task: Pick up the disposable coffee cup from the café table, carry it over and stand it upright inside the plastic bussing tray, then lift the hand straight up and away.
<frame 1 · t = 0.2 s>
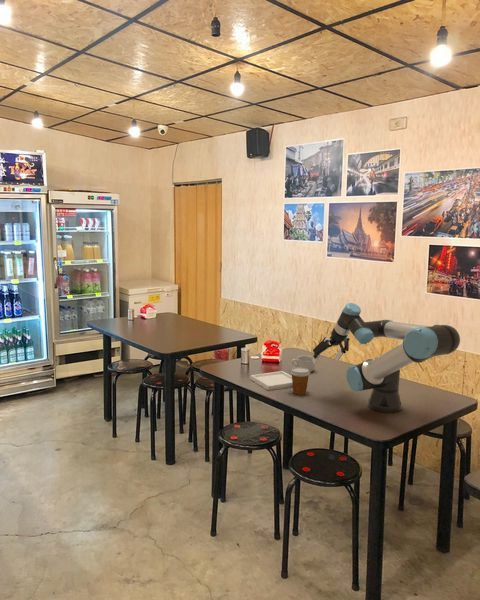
hand: (325, 360, 255), 16 cm above the table, tool tilted 35°, fingers open, 13 cm apart
disposable coffee cup: (299, 393, 256), on the table
teacup: (302, 371, 293), on the table
bussing tray: (275, 382, 272), on the table
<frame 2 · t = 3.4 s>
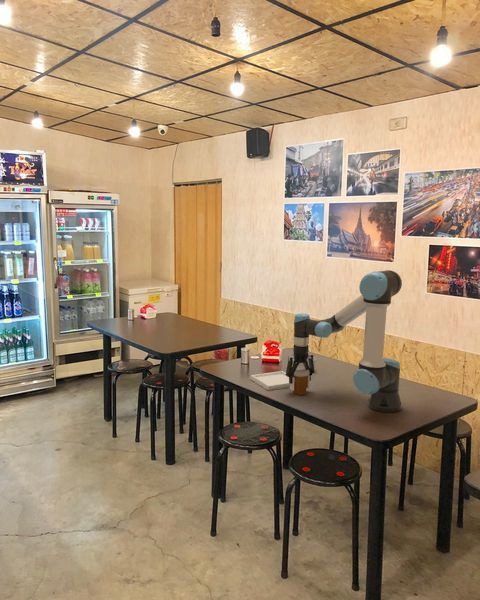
hand: (299, 388, 256), 2 cm above the table, tool pointing down, fingers closed on disposable coffee cup, 8 cm apart
disposable coffee cup: (299, 393, 256), on the table, touching gripper
everything else where it was.
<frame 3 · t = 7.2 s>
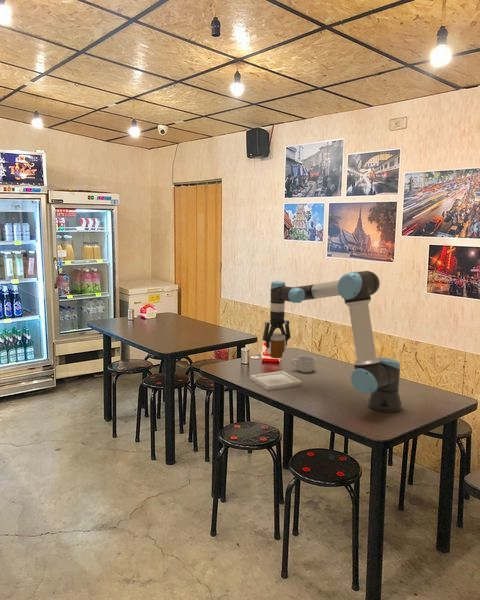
hand: (276, 352, 269), 17 cm above the table, tool pointing down, fingers closed on disposable coffee cup, 8 cm apart
disposable coffee cup: (276, 357, 269), point 14 cm above the table, touching gripper
everything else where it was.
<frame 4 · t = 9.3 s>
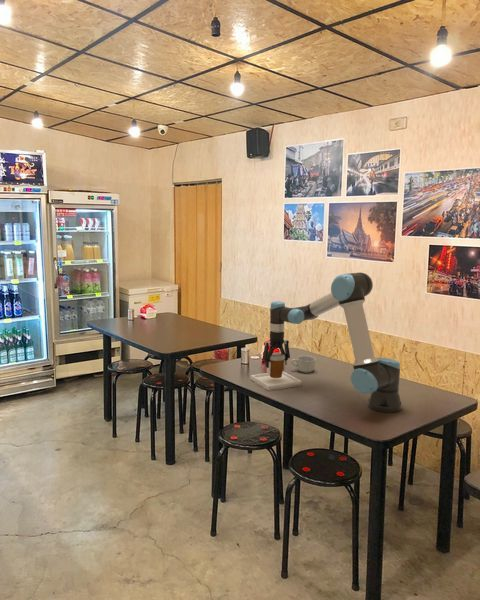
hand: (275, 372, 271), 6 cm above the table, tool pointing down, fingers closed on disposable coffee cup, 8 cm apart
disposable coffee cup: (275, 376, 271), point 3 cm above the table, touching gripper
everything else where it was.
when the fingers open (4 cm above the table, at t = 11.2 s): disposable coffee cup moves 3 cm, resting on bussing tray.
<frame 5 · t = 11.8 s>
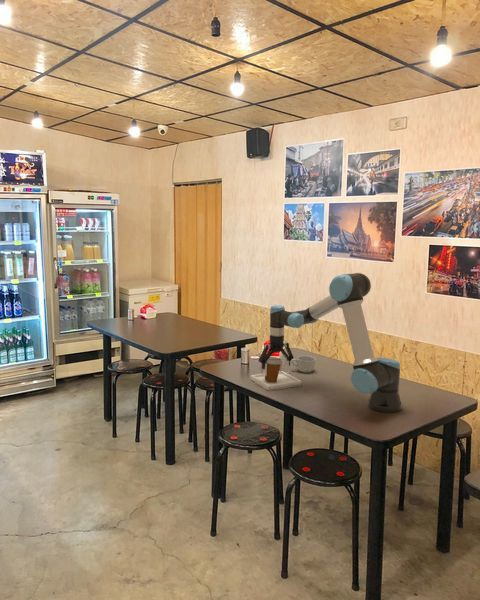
hand: (275, 373, 271), 5 cm above the table, tool pointing down, fingers open, 13 cm apart
disposable coffee cup: (270, 381, 270), point 1 cm above the table, touching bussing tray, gripper
everything else where it was.
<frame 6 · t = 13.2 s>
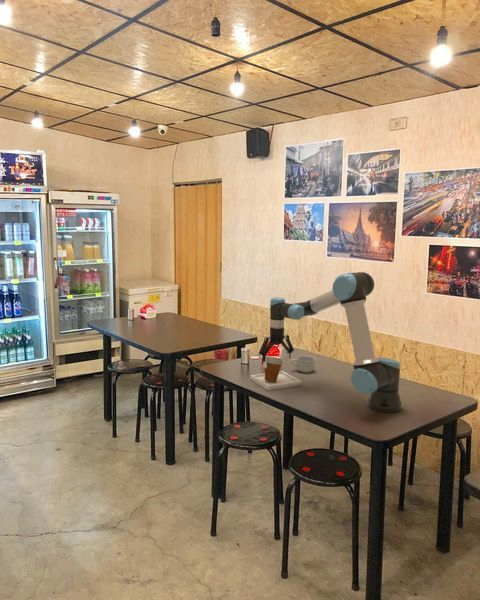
hand: (276, 366, 270), 9 cm above the table, tool pointing down, fingers open, 13 cm apart
disposable coffee cup: (270, 380, 270), point 2 cm above the table, touching bussing tray
everything else where it was.
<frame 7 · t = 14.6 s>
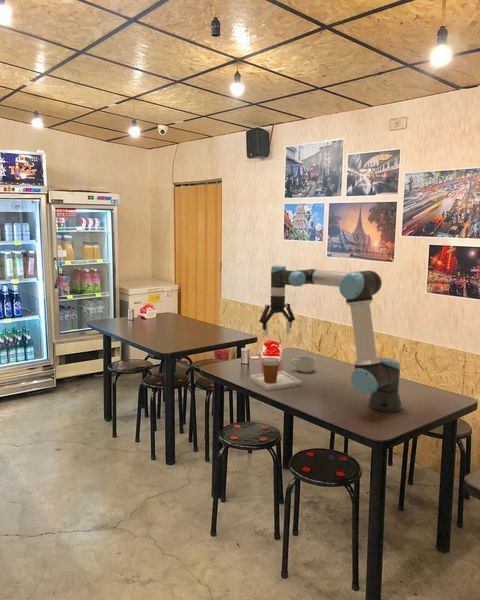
hand: (277, 334, 267), 26 cm above the table, tool pointing down, fingers open, 13 cm apart
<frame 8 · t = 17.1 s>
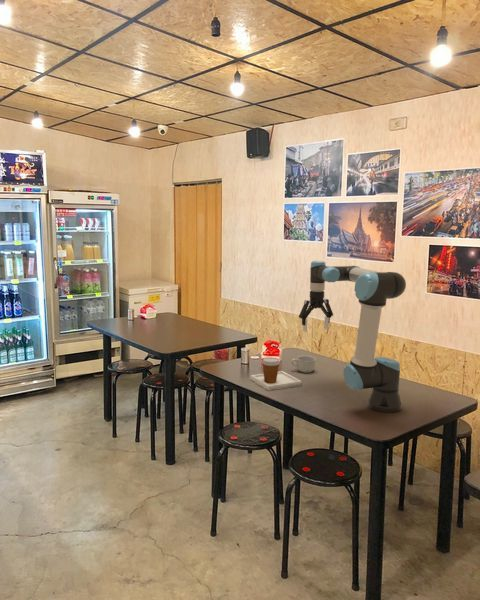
hand: (315, 330, 268), 29 cm above the table, tool pointing down, fingers open, 13 cm apart
at the end: disposable coffee cup inside the target area on the bussing tray (3.5 cm from its centre), point 1.0 cm above the bussing tray's base; disposable coffee cup tilted 0°; the gripper is holding nothing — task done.
